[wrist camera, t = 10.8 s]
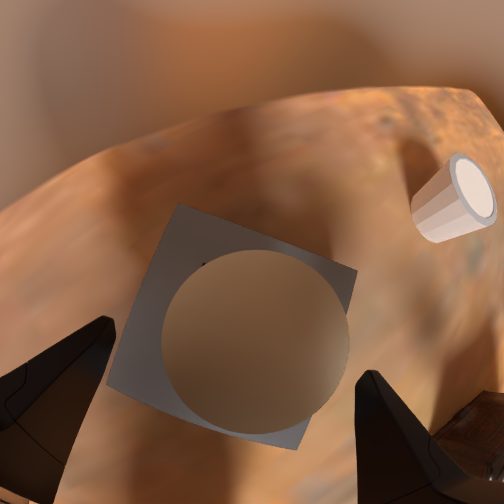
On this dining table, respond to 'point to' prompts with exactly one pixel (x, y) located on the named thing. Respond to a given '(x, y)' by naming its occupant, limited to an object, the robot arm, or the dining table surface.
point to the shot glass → (454, 201)
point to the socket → (164, 289)
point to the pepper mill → (477, 437)
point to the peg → (255, 342)
